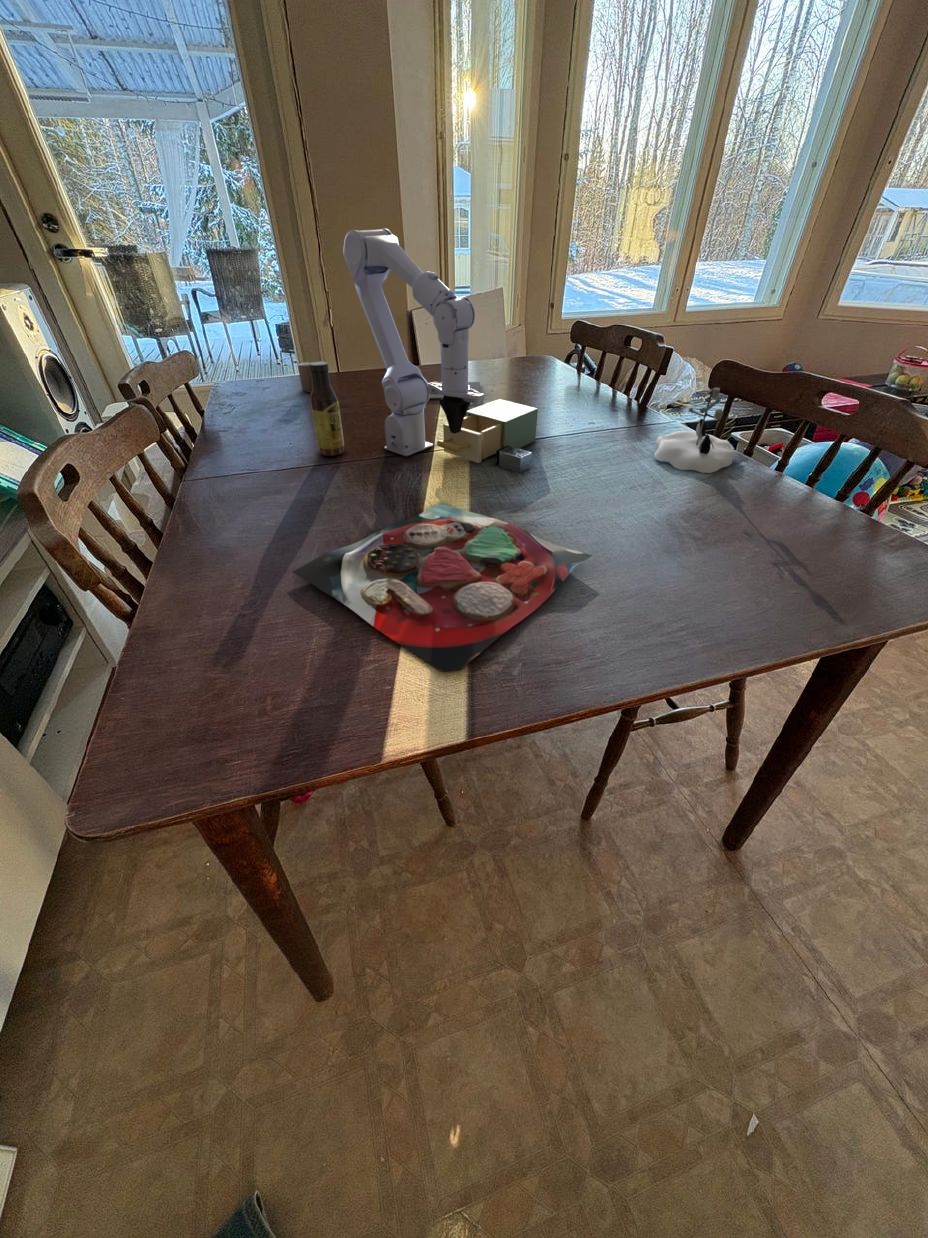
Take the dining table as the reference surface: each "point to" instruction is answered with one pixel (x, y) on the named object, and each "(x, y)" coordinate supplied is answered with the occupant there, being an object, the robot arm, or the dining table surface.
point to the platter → (444, 581)
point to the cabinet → (510, 420)
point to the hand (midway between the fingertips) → (455, 431)
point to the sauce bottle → (325, 412)
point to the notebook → (473, 385)
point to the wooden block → (305, 377)
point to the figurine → (697, 444)
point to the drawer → (473, 438)
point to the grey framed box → (513, 458)
